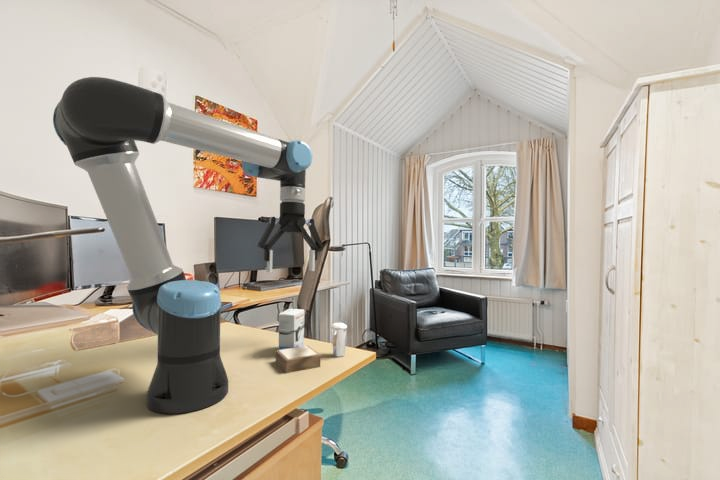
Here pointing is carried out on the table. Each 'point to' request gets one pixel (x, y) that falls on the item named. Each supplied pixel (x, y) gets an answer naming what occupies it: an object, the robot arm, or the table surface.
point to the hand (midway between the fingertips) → (291, 271)
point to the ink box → (291, 328)
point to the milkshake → (338, 338)
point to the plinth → (297, 358)
